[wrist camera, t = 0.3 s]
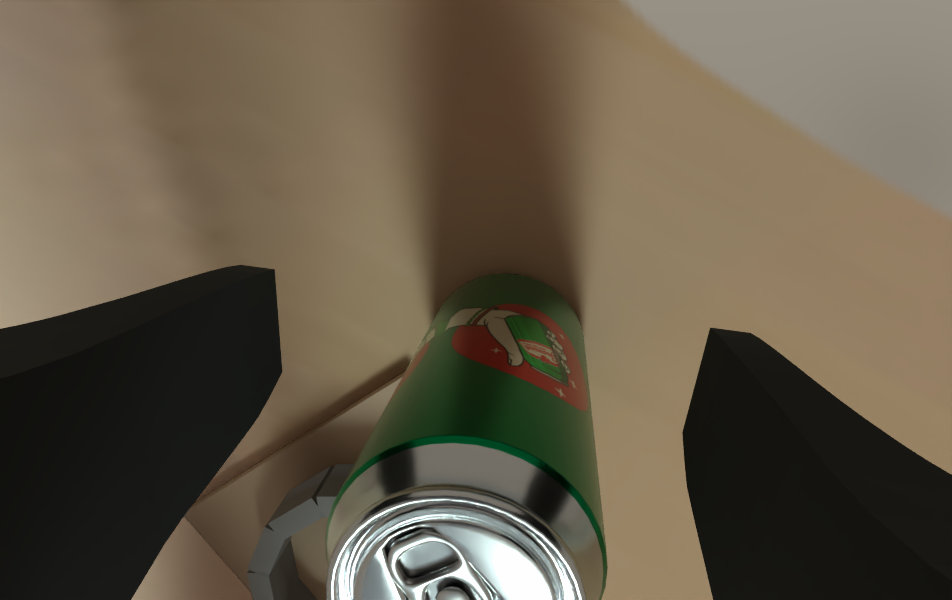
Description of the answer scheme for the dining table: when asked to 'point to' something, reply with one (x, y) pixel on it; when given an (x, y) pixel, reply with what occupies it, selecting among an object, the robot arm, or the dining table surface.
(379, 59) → the dining table surface
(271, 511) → the can socket
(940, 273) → the dining table surface
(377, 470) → the soda can
